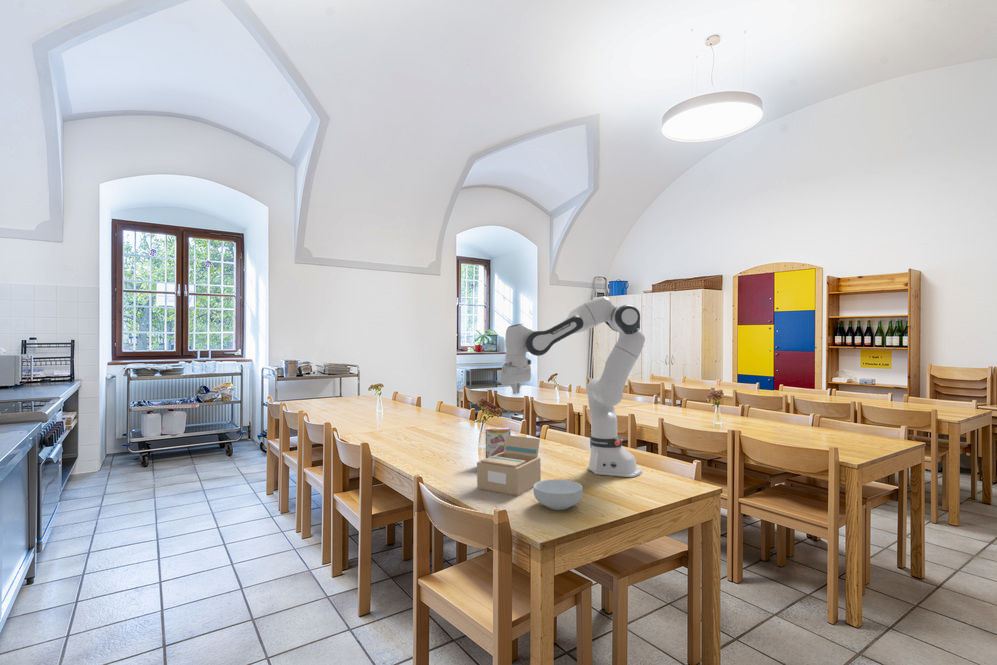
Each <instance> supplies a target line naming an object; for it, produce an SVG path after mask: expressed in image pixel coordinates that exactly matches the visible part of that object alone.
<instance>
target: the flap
mask: <svg viewBox="0 0 997 665" xmlns="http://www.w3.org/2000/svg"><path fill="white" fill-rule="evenodd" d="M480 461H481V462H485V463H492V464H498V465H505V466H511V467H517V466H519V465H521V464H523V463H525V462H526V461H524V460H517V459H511V458H504V457H497V456H490V457H488V458H486V457H485V458H483V459H481V460H480Z"/></svg>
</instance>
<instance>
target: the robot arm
mask: <svg viewBox="0 0 997 665" xmlns="http://www.w3.org/2000/svg"><path fill="white" fill-rule="evenodd" d="M602 323H605V324H606V325H607V326H608V327H609V328H610V329H611V330H612V331H615V332H617V333H619V336H618V339H617V341H616V343H615V344H614V346H613V348H612V350H611V351H610V353H609V355H608V356H607V358H606V361H605V364H604V368H603V371H602V374H601V377H595V378H593V379H591V380H590V381H588V383H587V385H586V393H587V400H588V407H589V413H590V428H591V429H590V430H591V431H590V434H591V435H590V436H589V438H590V440H589V445H590V456H589V462H588V466H587V469H588V470H589V471H590V472H592V473H594V475H601V476H602V475H603V476H613V477H622V478H623V477H624V478H625V477H626V478H634V477H635V478H636V477H638V476H640V475H641V473H642V472H643V471H642V467H640V466H637V462H636V457H635V456H634V455H633V453H631V452H630V451H629V450H628V449H626V447H624V446H623V440H624V438H620V437H619V436H618V418H617V417H618V416H617V415H616V411H615V406H617V405H618V404H619V403H621V402H622V400H623V396H624V395H623V394H624V392H623V391H624V389H625V386H626V383H627V380H628V377H629V375H630V373H631V371H632V369H633V367H634V366H635V364H636V362H637V360H638V359H639V356H640V354H641V352H642V350H643V348H644V345H645V341H646V338H645V335H644V333H642V331H640V329H641V313H640V311H639V309H638V308H637V307H635V306H633V305H631V304H624V305H620V306H615V305H614V304H613V302H612V301H611V300H610V299H609V298H608V297H606V296H599V297H596V298H593V299H591V300H589V301H586V302H584V303H582V304H580V305H578V306H577V307H575V308H574V309H573V310H572V311H570V312H569V314H568V316H567V317H566V318H565V319H564V320H562V322H560V323H558V324H556V325H554V326H552V327H551V328H549V329H546V330H538V331H537V330H534V329H532V328H529V327H528V326H526V325H525V324H524V323H517V324H513V325H510V326H508V327H507V328H506V329H505V343H504V345H505V348H506V350H505V362H504V364H503V365H502V368H501V371H500V384H501V385H502V386H511V389H512V395H518V394H520V392H521V391H520V389H521V386H522V384H523V383H527V382H529V381H530V380H531V377H532V367H531V366H532V360H531V359H530V358H528V357H527V353H530V354H531V355H533V356H538V357H541V356H543V355H545V354H546V353H548V351H549V350H550V349H551V348H552V347H553V346H554V344H556V343H558V342H560V341H561V340H564V339H565V338H568V337H569V336H571V335H573V334H577V333H581V332H585V331H588V330H590V329H592V328H595V327H596V326H598V325H600V324H602Z"/></svg>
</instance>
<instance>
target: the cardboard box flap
mask: <svg viewBox="0 0 997 665" xmlns="http://www.w3.org/2000/svg"><path fill="white" fill-rule="evenodd" d="M540 441H541V439H540V438H534V437H524V436H517V435H511V436H510V435H507V437H506V444H505V450H504V453H510V454H517V455H524V456H531V457H539V456H538V455H539V450H540V449H539V448H540V443H541V442H540Z"/></svg>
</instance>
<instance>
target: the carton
mask: <svg viewBox="0 0 997 665" xmlns="http://www.w3.org/2000/svg"><path fill="white" fill-rule="evenodd" d="M494 456H497V457H504V458H511V459H517V460H524V461H526V462H525V463H523V464H521V465H519V466H517V467H511V466H505V465H498V464H492V463H485V462H481V460H479V461H477V462H476V484H477V487H476V488H477V490H478V489H479V490H484V491H488V492H494V493H500V494H503V495H505V494H506V495H510V496H516V497H519V496H521V495H522V494H525V493H526V492H528V491H529V490H531V489H533V485H534V484H535V483H537V482H540V481H542V478H541V477H542V476H541V472H542V471H541V470H542V469H541V457H539V456H538V457H531V456H524V455H517V454H510V453H503V452H501V453H499V454H496V455H494Z"/></svg>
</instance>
